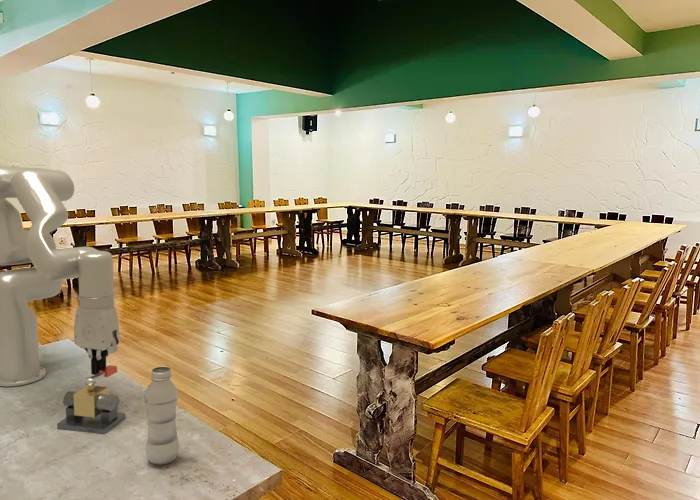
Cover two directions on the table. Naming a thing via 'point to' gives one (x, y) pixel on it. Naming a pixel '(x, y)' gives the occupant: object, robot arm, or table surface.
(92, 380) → the lever
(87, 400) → the valve
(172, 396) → the plastic bottle
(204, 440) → the table surface
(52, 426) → the table surface
